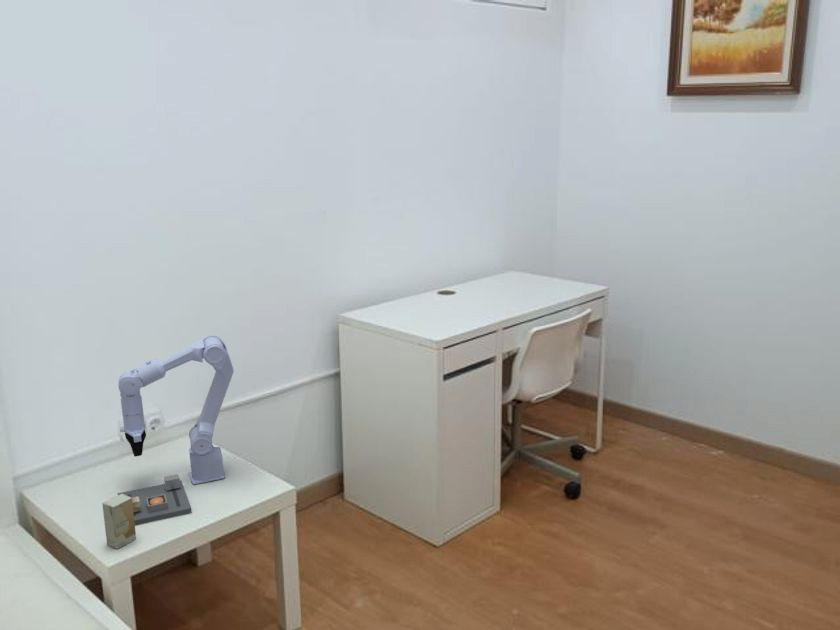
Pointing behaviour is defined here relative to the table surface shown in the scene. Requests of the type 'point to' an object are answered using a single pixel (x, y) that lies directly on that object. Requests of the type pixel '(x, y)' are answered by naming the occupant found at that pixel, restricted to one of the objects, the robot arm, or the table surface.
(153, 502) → the push button
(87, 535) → the table surface
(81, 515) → the table surface
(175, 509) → the control panel
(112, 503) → the skincare box
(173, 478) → the steel slider
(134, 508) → the birch slider
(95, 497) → the table surface
